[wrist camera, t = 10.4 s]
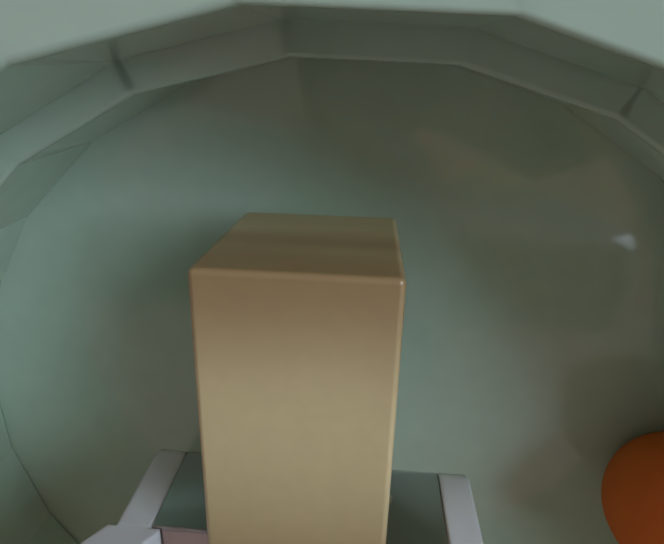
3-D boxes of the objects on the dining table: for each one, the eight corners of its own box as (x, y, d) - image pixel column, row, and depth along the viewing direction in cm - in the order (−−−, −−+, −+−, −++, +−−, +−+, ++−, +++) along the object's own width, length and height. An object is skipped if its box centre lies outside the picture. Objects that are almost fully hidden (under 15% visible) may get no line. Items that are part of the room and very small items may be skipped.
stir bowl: (-155, -45, 9) (-714, -143, 4) (979, 1, 8) (1808, -65, 3) (42, 630, 16) (-88, 855, 12) (638, 697, 15) (749, 970, 11)
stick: (245, 210, 8) (184, 268, 6) (396, 217, 8) (408, 279, 5) (259, 645, 12) (226, 809, 9) (366, 655, 11) (364, 826, 9)
